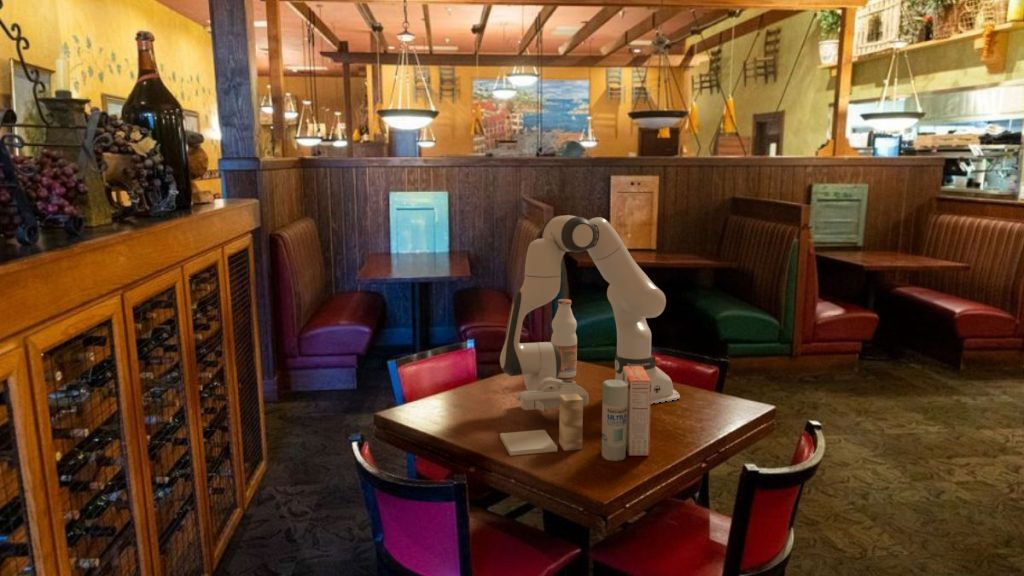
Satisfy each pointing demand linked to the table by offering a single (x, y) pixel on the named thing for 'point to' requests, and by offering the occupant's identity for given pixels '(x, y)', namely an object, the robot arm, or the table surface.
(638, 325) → the robot arm
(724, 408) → the table surface
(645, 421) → the cracker box
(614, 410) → the spray paint can
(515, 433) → the board
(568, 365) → the fruit juice
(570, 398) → the beech block
